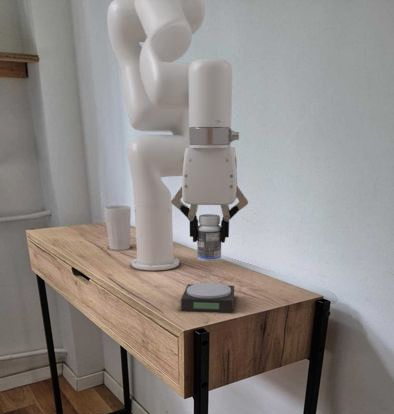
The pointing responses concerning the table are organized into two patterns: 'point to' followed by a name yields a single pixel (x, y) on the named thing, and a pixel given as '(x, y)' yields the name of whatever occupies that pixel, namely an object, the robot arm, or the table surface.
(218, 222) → the pill bottle
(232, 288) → the scale
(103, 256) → the table surface
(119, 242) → the cup
